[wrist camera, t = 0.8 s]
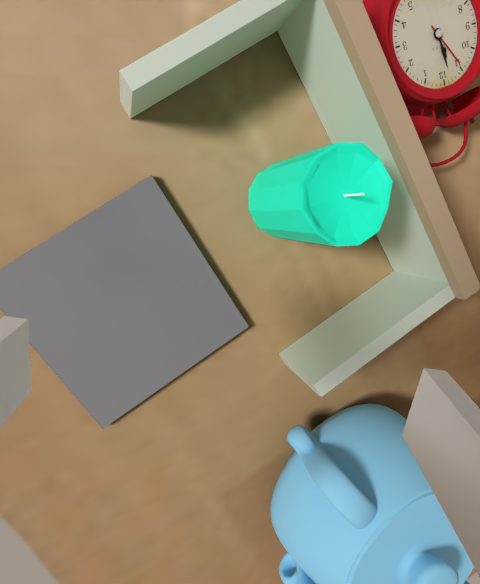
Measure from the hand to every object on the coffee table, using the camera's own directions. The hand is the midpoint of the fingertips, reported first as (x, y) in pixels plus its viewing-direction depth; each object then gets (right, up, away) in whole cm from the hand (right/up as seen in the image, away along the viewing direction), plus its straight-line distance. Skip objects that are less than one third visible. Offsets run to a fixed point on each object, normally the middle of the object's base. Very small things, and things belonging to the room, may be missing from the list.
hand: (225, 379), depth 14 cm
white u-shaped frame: (+4, +10, +20) cm, 23 cm away
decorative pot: (+10, -14, +27) cm, 32 cm away
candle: (+4, +10, +20) cm, 23 cm away
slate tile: (-8, +2, +18) cm, 20 cm away
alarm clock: (+15, +21, +21) cm, 34 cm away
